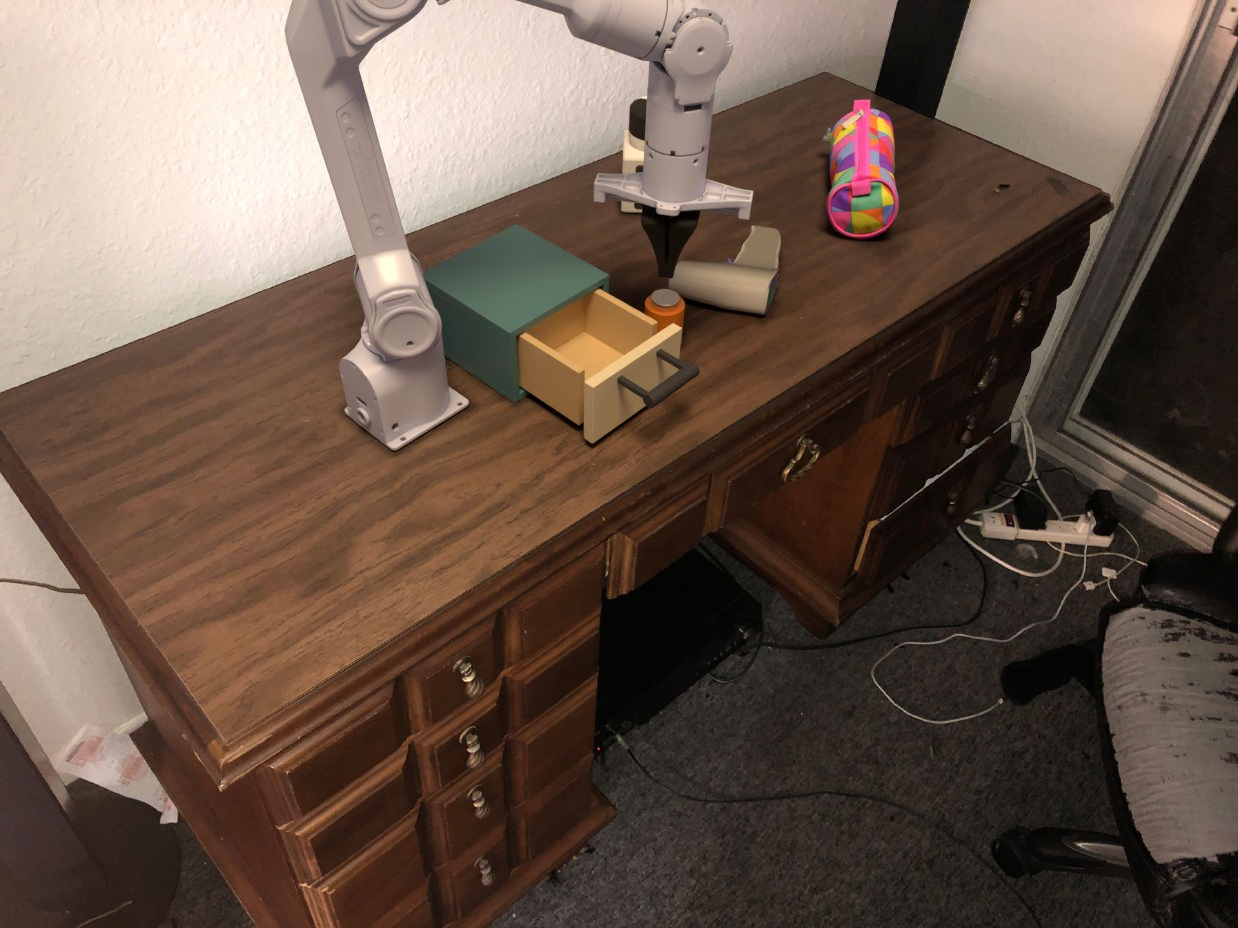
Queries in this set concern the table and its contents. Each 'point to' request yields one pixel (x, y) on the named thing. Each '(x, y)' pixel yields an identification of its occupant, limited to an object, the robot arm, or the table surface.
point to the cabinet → (504, 300)
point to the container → (634, 147)
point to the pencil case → (862, 173)
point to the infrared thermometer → (734, 275)
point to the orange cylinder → (665, 308)
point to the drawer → (601, 362)
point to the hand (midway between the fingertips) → (667, 272)
